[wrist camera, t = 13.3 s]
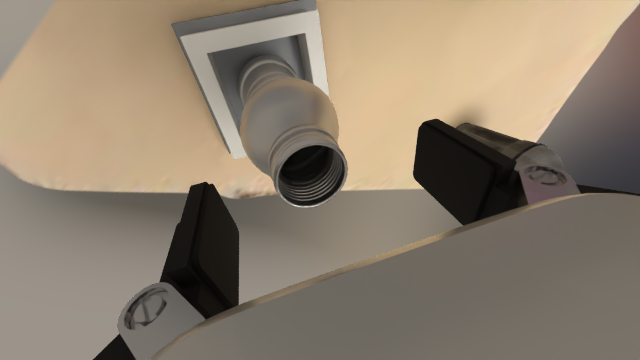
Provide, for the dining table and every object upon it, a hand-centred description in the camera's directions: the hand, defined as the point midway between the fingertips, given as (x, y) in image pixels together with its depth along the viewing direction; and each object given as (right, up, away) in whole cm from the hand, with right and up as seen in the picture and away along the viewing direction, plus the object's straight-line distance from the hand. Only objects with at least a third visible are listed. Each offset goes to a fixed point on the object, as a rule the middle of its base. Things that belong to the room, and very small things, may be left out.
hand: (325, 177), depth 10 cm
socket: (-7, +11, +17) cm, 22 cm away
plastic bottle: (-6, +11, +16) cm, 21 cm away
